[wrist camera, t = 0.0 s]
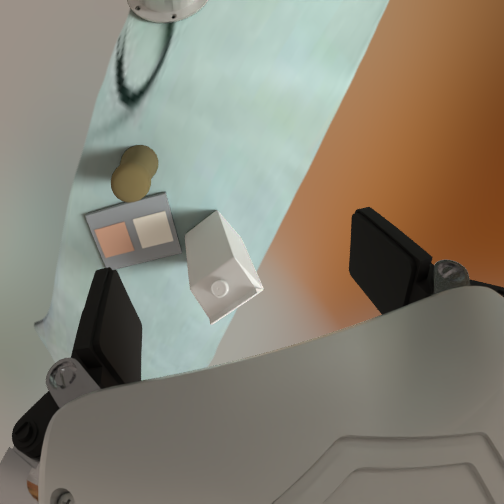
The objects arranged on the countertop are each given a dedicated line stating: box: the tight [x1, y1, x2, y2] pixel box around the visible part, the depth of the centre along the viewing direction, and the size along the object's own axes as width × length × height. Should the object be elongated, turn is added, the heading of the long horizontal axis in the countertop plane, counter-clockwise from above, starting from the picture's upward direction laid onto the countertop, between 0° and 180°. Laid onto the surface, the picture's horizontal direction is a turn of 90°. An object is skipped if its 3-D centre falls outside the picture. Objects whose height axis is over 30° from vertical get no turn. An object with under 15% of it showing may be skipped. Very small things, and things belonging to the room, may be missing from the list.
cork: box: [111, 145, 158, 203], centre depth 38 cm, size 6×6×11 cm
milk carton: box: [185, 210, 264, 325], centre depth 44 cm, size 7×7×19 cm
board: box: [85, 192, 182, 270], centre depth 47 cm, size 11×14×1 cm
